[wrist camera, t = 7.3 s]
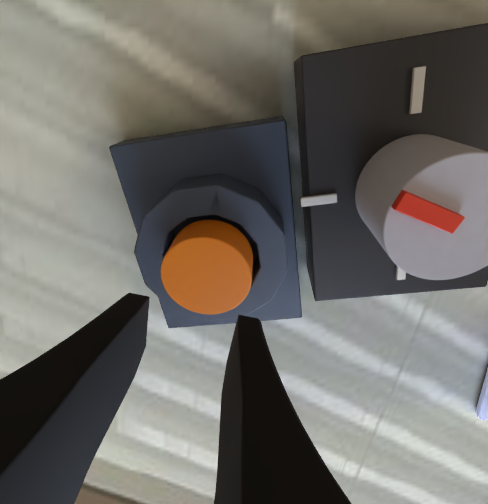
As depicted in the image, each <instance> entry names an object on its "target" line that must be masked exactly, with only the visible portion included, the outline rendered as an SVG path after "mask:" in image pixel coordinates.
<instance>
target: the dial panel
mask: <svg viewBox="0 0 488 504" xmlns="http://www.w3.org/2000/svg"><path fill="white" fill-rule="evenodd" d="M294 72H295V87H296V102H297V117H298V132H299V147H300V162H301V177H302V192H303V197H300V200H301V207H304V222H305V237H306V252H307V267H308V273H309V277H310V281H311V285H312V290H313V294H314V298H315V301H322V300H334V299H345V298H357V297H369V296H381V295H392V294H404V293H416V292H427V291H439V290H451V289H462V288H474V287H485V286H486V285H487V281H488V265H487V266H486V267H484V268H482V269H480V270H478V271H476V272H473V273H471V274H468V275H465V276H462V277H458V278H454V279H447V280H429V279H423V278H419V277H416V276H413V275H411V274H408V273H406V272H405V271H403V270H402V269H400V268H399V267H398V266H397V265H396V264H394V262H393V261H392V260H391V259H390V257H389V256H388V254H387V253H386V252H385V250H384V249H383V248H382V246H381V245H380V243H379V242H378V241H377V239H376V238H375V236H374V235H373V234H372V232H371V231H370V230H369V228H368V227H367V225H366V224H365V223H364V221H363V220H362V218H361V217H360V215H359V213H358V210H357V207H356V202H355V191H356V185H357V181H358V179H359V176H360V174H361V172H362V170H363V168H364V167H365V165H366V164H367V162H368V161H369V160H370V159H371V157H372V156H373V155H374V154H375V153H377V152H378V151H379V150H380V149H381V148H383V147H384V146H386V145H387V144H389V143H391V142H393V141H395V140H397V139H399V138H402V137H405V136H410V135H416V134H429V135H434V136H438V137H441V138H445V139H448V140H451V141H454V142H458V143H461V144H464V145H468V146H471V147H474V148H478V149H481V150H484V151H488V23H485V24H479V25H473V26H468V27H462V28H456V29H451V30H445V31H439V32H434V33H428V34H422V35H416V36H411V37H405V38H399V39H394V40H388V41H382V42H377V43H371V44H365V45H359V46H354V47H348V48H342V49H337V50H331V51H325V52H320V53H314V54H308V55H303V56H301V57H300V58H299V59H297V60H296V61H295V62H294Z"/></svg>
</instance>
